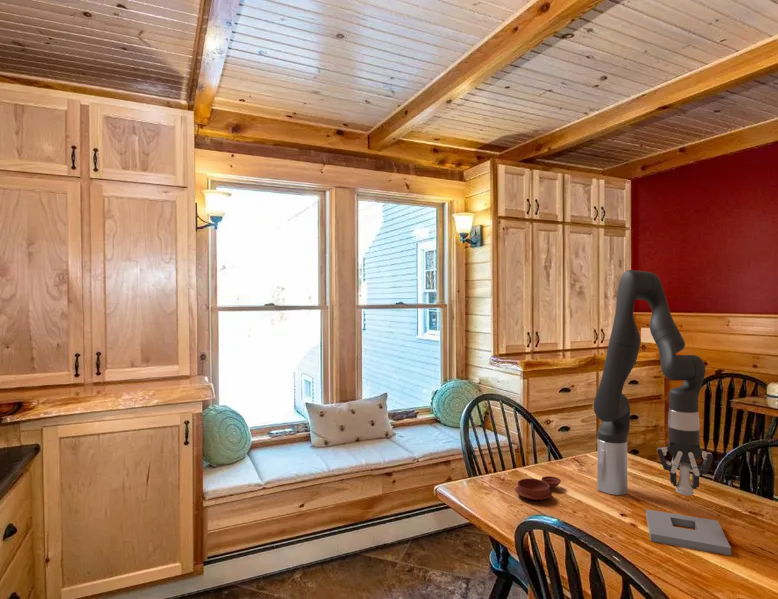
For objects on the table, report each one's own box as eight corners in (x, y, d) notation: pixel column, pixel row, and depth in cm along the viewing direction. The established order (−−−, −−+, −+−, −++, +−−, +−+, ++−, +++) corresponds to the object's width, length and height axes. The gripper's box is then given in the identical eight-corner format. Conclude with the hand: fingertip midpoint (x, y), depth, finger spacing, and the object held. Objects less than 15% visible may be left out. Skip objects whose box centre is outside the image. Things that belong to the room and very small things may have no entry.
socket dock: (650, 541, 128) (650, 533, 128) (646, 515, 143) (646, 509, 143) (731, 555, 121) (731, 547, 121) (717, 527, 135) (717, 520, 135)
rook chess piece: (671, 489, 135) (671, 462, 135) (686, 489, 136) (686, 461, 136) (682, 496, 131) (682, 467, 131) (698, 495, 131) (697, 466, 131)
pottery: (507, 496, 157) (507, 483, 157) (541, 481, 170) (540, 469, 170) (539, 508, 148) (539, 494, 148) (571, 491, 162) (571, 478, 161)
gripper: (656, 426, 133) (657, 487, 133) (717, 432, 127) (717, 495, 127) (653, 420, 140) (654, 478, 140) (711, 425, 134) (711, 485, 134)
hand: (684, 486), depth 133 cm, fingers closed on rook chess piece, 4 cm apart
